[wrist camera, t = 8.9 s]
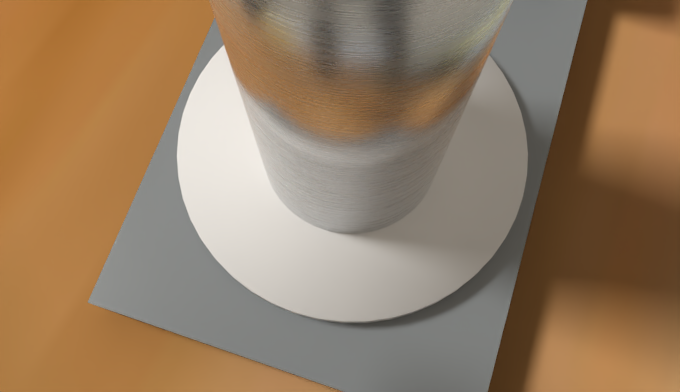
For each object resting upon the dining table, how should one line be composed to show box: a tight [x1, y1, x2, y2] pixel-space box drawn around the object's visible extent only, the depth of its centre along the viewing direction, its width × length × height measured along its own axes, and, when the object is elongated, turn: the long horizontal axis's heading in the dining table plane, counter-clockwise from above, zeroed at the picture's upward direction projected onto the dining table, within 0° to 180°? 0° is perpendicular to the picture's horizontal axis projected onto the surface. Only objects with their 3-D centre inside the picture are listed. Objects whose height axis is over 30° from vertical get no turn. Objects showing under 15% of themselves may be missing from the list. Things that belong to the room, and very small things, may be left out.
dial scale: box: [88, 0, 587, 392], centre depth 19 cm, size 20×11×5 cm, turn 162°
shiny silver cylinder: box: [209, 0, 513, 234], centre depth 12 cm, size 5×5×13 cm
